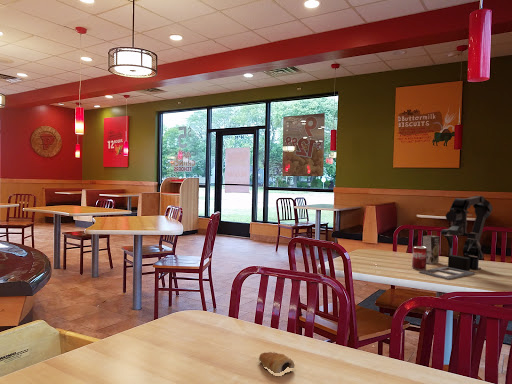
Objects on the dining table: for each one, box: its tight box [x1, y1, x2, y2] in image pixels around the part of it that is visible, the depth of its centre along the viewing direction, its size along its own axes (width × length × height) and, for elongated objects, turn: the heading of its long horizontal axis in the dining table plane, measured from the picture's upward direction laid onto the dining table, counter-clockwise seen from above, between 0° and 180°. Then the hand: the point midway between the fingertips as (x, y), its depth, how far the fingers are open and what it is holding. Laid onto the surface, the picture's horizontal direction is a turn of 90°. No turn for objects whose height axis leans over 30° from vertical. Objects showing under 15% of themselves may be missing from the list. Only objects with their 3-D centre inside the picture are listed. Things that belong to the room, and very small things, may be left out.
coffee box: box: [422, 234, 441, 265], centre depth 232 cm, size 9×6×16 cm
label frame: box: [418, 266, 476, 281], centre depth 205 cm, size 26×16×1 cm, turn 125°
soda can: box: [411, 245, 427, 271], centre depth 214 cm, size 7×7×12 cm
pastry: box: [258, 351, 296, 373], centre depth 95 cm, size 9×7×4 cm
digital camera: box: [447, 254, 471, 272], centre depth 218 cm, size 10×5×7 cm, turn 37°
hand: (459, 249), depth 210 cm, fingers open, 9 cm apart
